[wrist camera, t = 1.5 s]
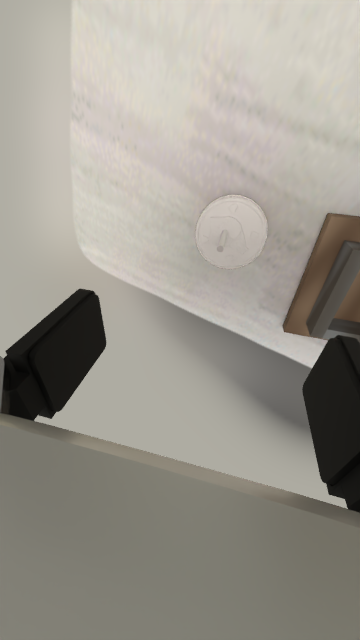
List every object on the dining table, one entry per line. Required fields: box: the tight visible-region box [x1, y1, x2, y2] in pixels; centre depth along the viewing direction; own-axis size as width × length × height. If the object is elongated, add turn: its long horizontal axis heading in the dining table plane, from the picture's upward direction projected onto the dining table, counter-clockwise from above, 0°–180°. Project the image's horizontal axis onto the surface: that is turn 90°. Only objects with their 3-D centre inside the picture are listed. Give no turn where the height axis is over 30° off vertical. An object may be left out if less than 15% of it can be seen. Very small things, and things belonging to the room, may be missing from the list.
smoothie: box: [195, 195, 268, 269], centre depth 23 cm, size 6×6×14 cm
